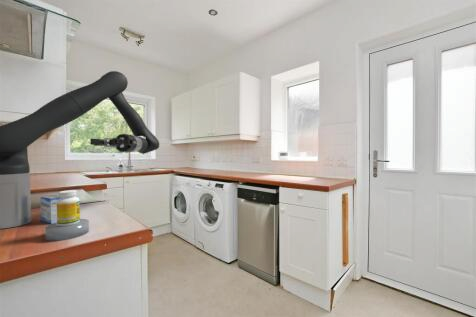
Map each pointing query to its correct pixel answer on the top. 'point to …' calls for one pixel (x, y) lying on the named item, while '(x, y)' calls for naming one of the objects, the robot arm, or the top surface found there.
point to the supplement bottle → (68, 208)
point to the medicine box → (49, 208)
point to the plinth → (66, 231)
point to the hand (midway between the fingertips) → (102, 141)
